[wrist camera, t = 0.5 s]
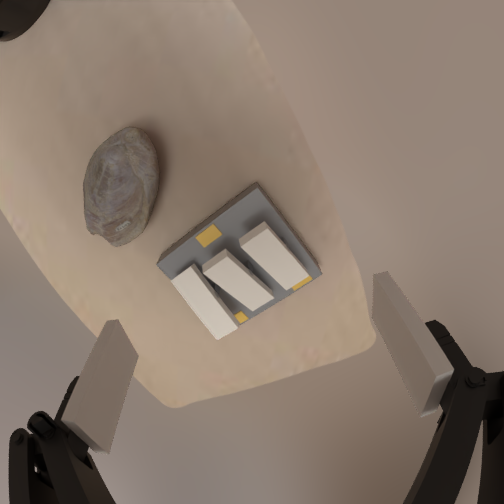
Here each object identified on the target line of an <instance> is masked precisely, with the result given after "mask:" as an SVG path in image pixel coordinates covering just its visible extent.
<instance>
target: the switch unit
mask: <svg viewBox="0 0 504 504" xmlns="http://www.w3.org/2000/svg"><path fill="white" fill-rule="evenodd" d="M264 221H265V222H266V223H267V225H268V226H269V227H270V228H271V229H272V230H273V231H274V232H275V234H276V235H277V236H278V237H279V238H280V239H281V240H282V241H283V243H284V244H286V245H287V247H288V248H289V249H290V251H291V252H292V253H293V254H294V255H295V256H296V257H297V259H298V260H299V261H300V262H301V263H302V264H303V266H304V267H305V268H306V269H307V272H308V274H309V276H308V277H307V278H305V279H304V280H302V281H301V282H299V283H297V284H296V285H294V286H293V287H291V288H290V289H288V290H285V289H284V288H283V287H282V286H281V285H280V284H279V283H278V282H277V281H276V280H275V279H274V278H273V277H272V276H271V275H270V274H269V273H267V272H266V271H265V270H264V269H263V268H262V267H261V266H260V265H259V264H258V263H257V262H256V261H255V260H254V259H253V258H252V257H251V256H250V255H249V254H248V253H247V252H245V251H244V250H243V249H242V248H241V246H240V243H239V239H240V238H241V237H243V236H244V235H245V234H247V233H248V232H250V231H251V230H252V229H254V228H255V227H257V226H258V225H260V224H261V223H262V222H264ZM224 249H227V250H228V251H229V252H230V253H231V254H232V255H233V256H234V257H235V258H237V259H238V260H239V261H240V262H241V263H242V264H243V265H244V266H245V267H246V268H248V269H250V270H251V271H252V273H253V274H254V275H255V276H256V277H258V278H259V279H260V280H261V281H262V282H263V283H264V284H265V285H266V286H268V287H269V288H270V289H271V290H272V292H273V295H274V299H272V300H270V301H269V302H267V303H265V304H264V305H262V306H261V307H259V308H257V309H256V310H254V311H251V310H250V309H249V308H247V307H246V306H245V305H243V304H242V303H241V302H239V301H238V300H237V299H235V298H234V297H233V296H232V295H230V294H229V293H228V292H226V291H225V290H224V289H222V288H221V287H220V286H219V285H217V284H216V283H215V282H213V281H212V280H211V279H210V278H208V277H207V276H206V275H204V274H203V269H202V265H203V264H205V263H206V262H207V261H209V260H210V259H212V258H213V257H214V256H216V255H217V254H219V253H220V252H221V251H223V250H224ZM193 264H195V265H196V267H197V268H198V269H199V271H200V272H201V273H202V275H203V276H204V277H205V279H206V280H207V281H208V282H209V284H210V285H211V286H212V288H213V289H214V290H215V291H216V292H217V293H218V294H219V297H220V298H221V299H222V301H223V302H224V303H225V305H226V306H227V307H228V309H229V310H230V311H231V312H232V314H233V315H234V316H235V317H236V319H237V320H238V321H239V323H240V325H241V324H242V323H244V322H246V321H248V320H249V319H251V318H253V317H254V316H256V315H258V314H259V313H261V312H263V311H264V310H266V309H268V308H269V307H271V306H272V305H274V304H276V303H277V302H279V301H281V300H282V299H284V298H285V297H287V296H289V295H290V294H292V293H294V292H295V291H297V290H298V289H300V288H301V287H303V286H305V285H306V284H308V283H309V282H311V281H312V280H314V279H316V278H317V277H319V276H320V275H322V272H321V270H320V267H319V265H318V263H317V262H316V260H315V259H314V258H313V256H312V255H311V253H310V252H309V251H308V249H307V248H306V247H305V245H304V244H303V243H302V241H301V240H300V239H299V237H298V236H297V234H296V233H295V232H294V230H293V229H292V228H291V226H290V225H289V224H288V222H287V221H286V220H285V218H284V217H283V216H282V214H281V213H280V212H279V211H278V209H277V208H276V207H275V205H274V204H273V203H272V201H271V200H270V199H269V197H268V196H267V195H266V194H265V192H264V191H263V190H262V188H261V187H260V186H259V185H258V183H257V182H256V183H254V184H253V185H251V186H250V187H249V188H247V189H246V190H245V191H243V192H242V193H241V194H239V195H238V196H236V197H235V198H234V199H232V200H231V201H230V202H228V203H227V204H226V205H224V206H223V207H222V208H220V209H219V210H218V211H216V212H215V213H214V214H212V215H211V216H210V217H209V218H207V219H206V220H205V221H203V222H202V223H201V224H199V225H198V226H197V227H196V228H194V229H193V230H192V231H190V232H189V233H188V234H187V235H185V236H184V237H183V238H181V239H180V240H179V241H178V242H176V243H175V244H174V245H173V246H171V247H170V248H169V249H168V250H166V251H165V252H164V253H163V254H161V256H160V258H159V260H158V262H157V264H156V265H157V266H158V267H159V268H160V269H161V270H162V271H163V272H164V273H165V274H166V275H167V276H168V277H169V278H170V279H171V280H173V279H174V278H175V277H176V276H178V275H179V274H180V273H182V272H183V271H184V270H186V269H187V268H189V267H190V266H191V265H193Z"/></svg>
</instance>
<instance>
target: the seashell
mask: <svg viewBox="0 0 504 504" xmlns="http://www.w3.org/2000/svg"><path fill="white" fill-rule="evenodd" d="M158 188H159V164H158V159H157V154H156V151H155V148H154V146H153V144H152V142H151V140H150V139H149V137H148V136H147V135H146V133H145V132H143V131H142V130H140V129H139V128H136V127H128V128H124V129H122V130H121V131H119V132H117V133H116V134H114V135H113V136H111V137H110V138H108V139H107V140H106V141H105V142H103V143H102V144H101V145H100V146H99V147H98V148H97V149H96V151H95V152H94V154H93V156H92V158H91V159H90V162H89V164H88V167H87V170H86V174H85V179H84V183H83V191H84V214H85V220H86V225H87V229H88V231H89V232H90V233H91V234H93V235H94V234H98V235H100V236H102V237H103V238H105V239H106V240H107V241H108V242H109V243H110V244H111V245H113V246H115V247H118V246H122V245H125V244H127V243H129V242H131V241H132V240H133V239H135V238H136V237H137V236H139V235H140V234H141V233H142V232H143V231H144V229H145V227H146V225H147V223H148V220H149V217H150V214H151V212H152V209H153V206H154V202H155V199H156V196H157V192H158Z"/></svg>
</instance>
